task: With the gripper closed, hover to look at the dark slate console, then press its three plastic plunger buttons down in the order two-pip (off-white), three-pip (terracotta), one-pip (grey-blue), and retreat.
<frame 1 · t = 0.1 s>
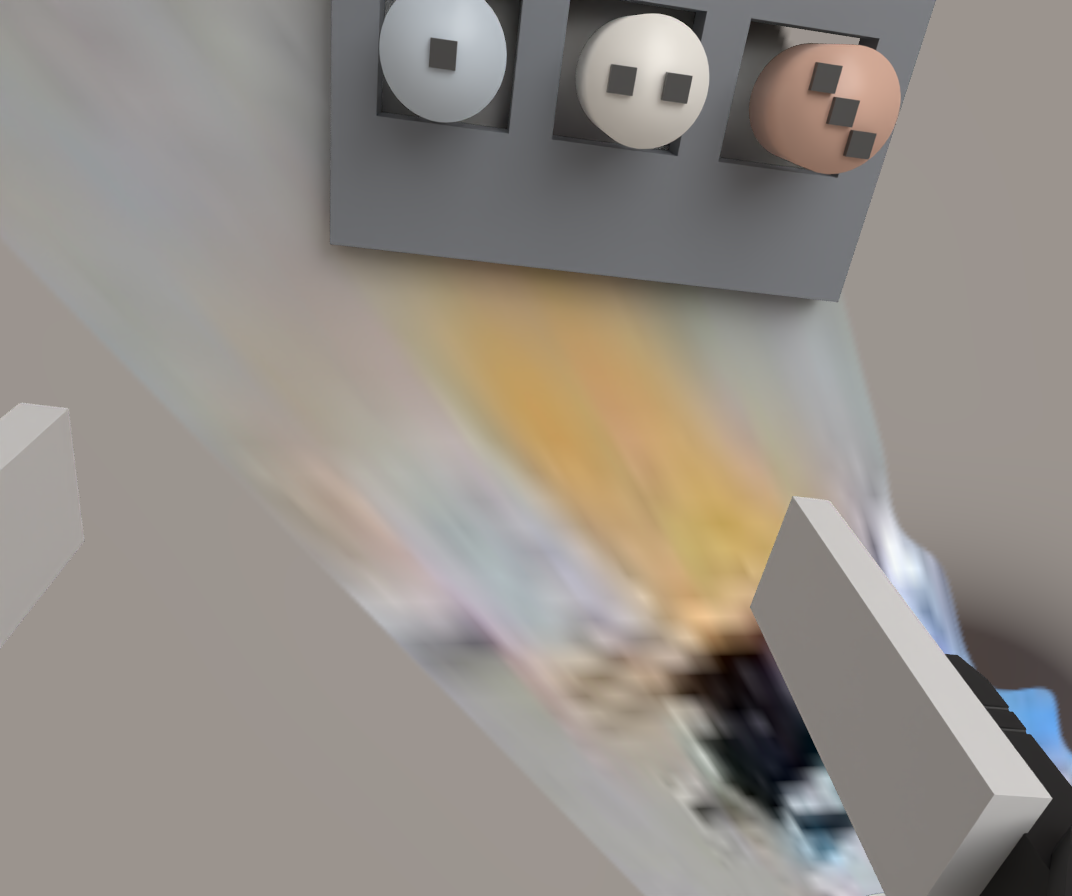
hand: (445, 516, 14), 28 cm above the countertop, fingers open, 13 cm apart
button one: (445, 52, 31), point 5 cm above the countertop, slide at 0.0 cm
button two: (639, 80, 32), point 5 cm above the countertop, slide at 0.0 cm
console: (620, 75, 36), on the countertop
button three: (821, 107, 33), point 5 cm above the countertop, slide at 0.0 cm
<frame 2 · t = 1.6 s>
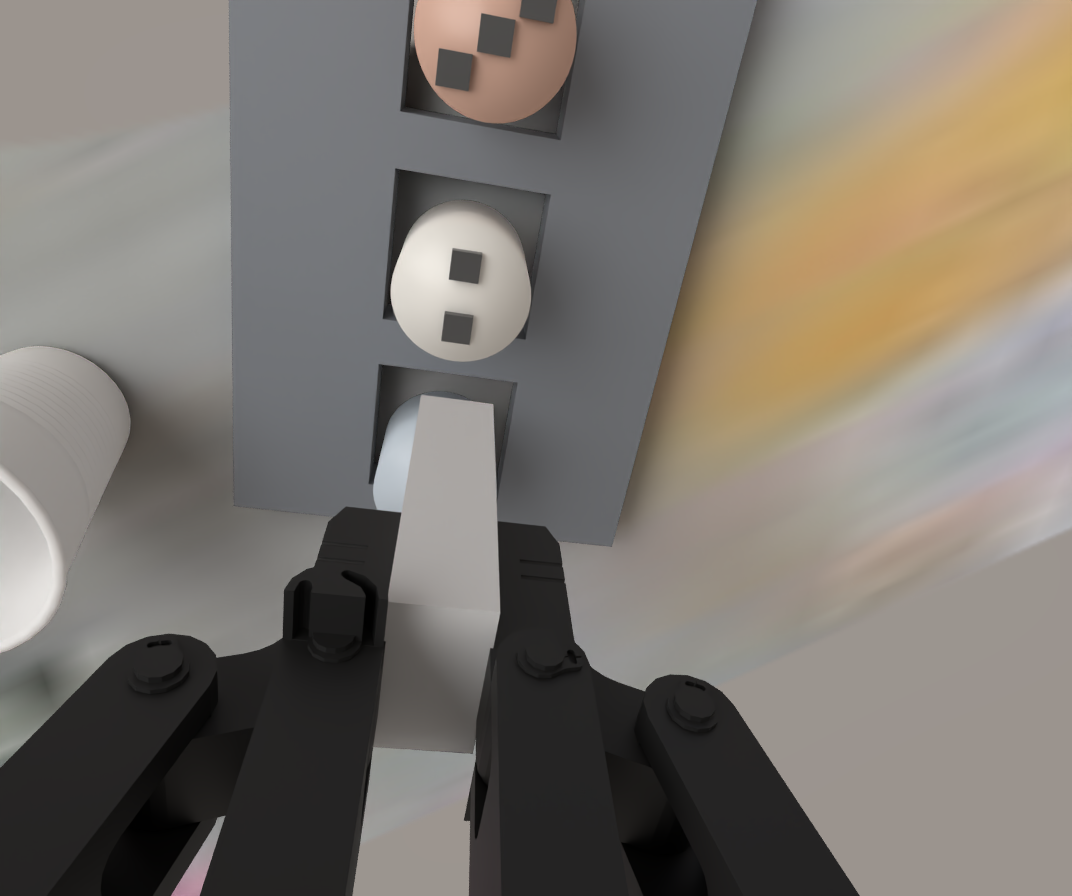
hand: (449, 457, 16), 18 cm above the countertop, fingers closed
button one: (437, 467, 32), point 5 cm above the countertop, slide at 0.0 cm
button two: (462, 279, 28), point 5 cm above the countertop, slide at 0.0 cm
console: (465, 246, 33), on the countertop
button three: (494, 35, 25), point 5 cm above the countertop, slide at 0.0 cm
cup: (64, 404, 35), on the countertop
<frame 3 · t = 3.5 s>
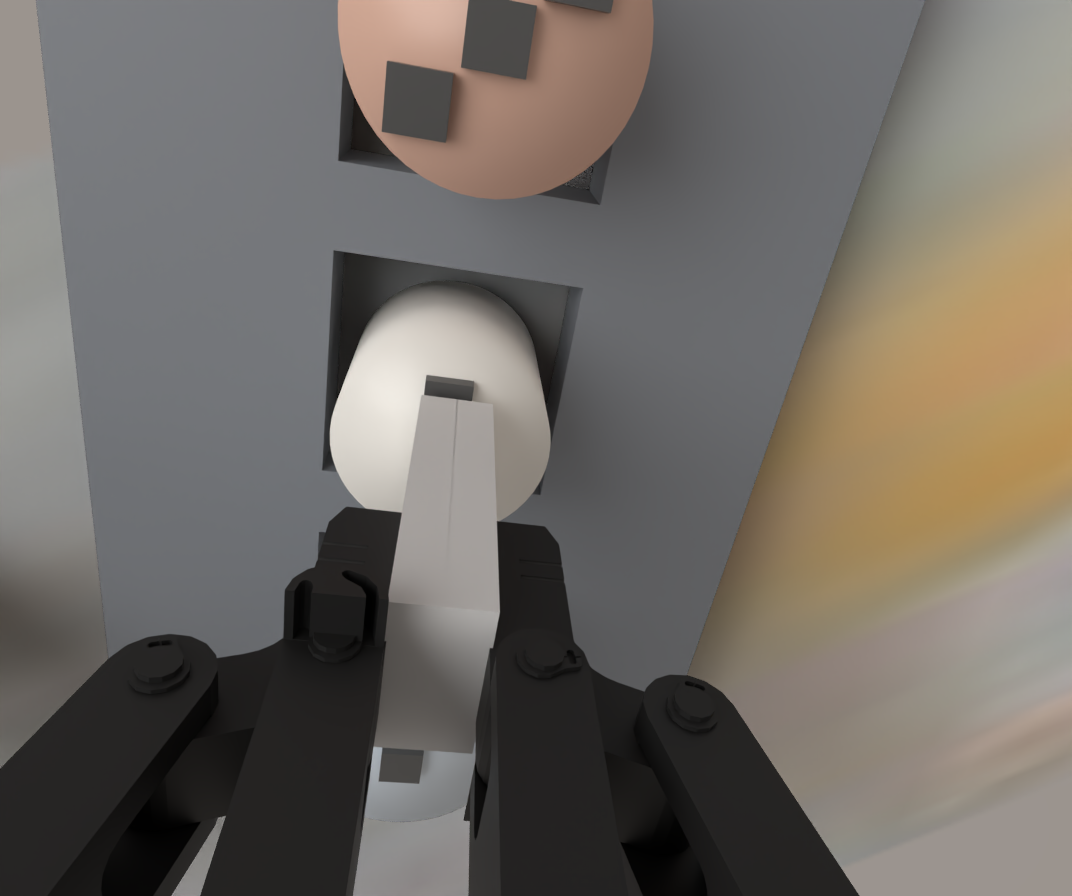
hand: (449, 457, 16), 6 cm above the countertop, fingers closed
button one: (408, 696, 21), point 5 cm above the countertop, slide at 0.0 cm
button two: (444, 405, 19), point 3 cm above the countertop, slide at 1.7 cm, touching gripper
console: (448, 355, 22), on the countertop
button three: (494, 36, 14), point 5 cm above the countertop, slide at 0.0 cm
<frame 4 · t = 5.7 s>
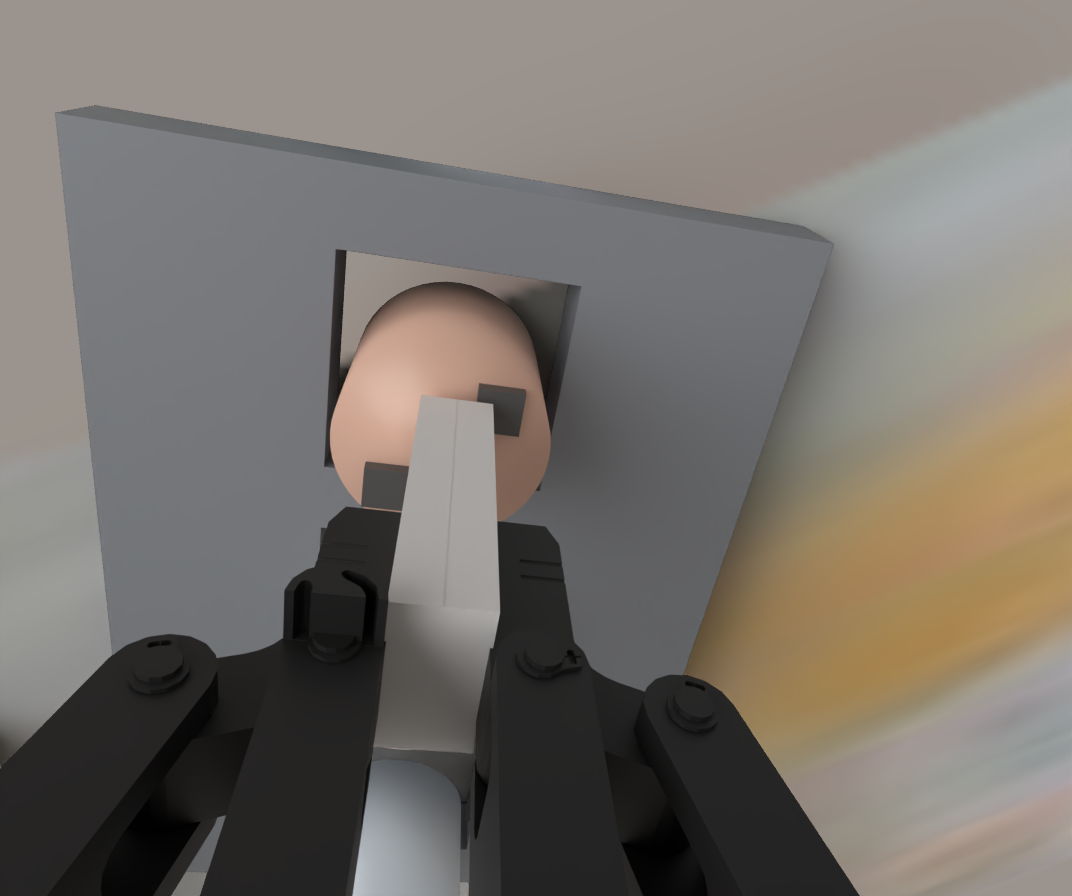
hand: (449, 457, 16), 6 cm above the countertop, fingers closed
button one: (385, 871, 25), point 5 cm above the countertop, slide at 0.0 cm
button two: (414, 637, 23), point 3 cm above the countertop, slide at 2.1 cm
console: (420, 577, 25), on the countertop
button three: (444, 406, 19), point 4 cm above the countertop, slide at 1.4 cm, touching gripper
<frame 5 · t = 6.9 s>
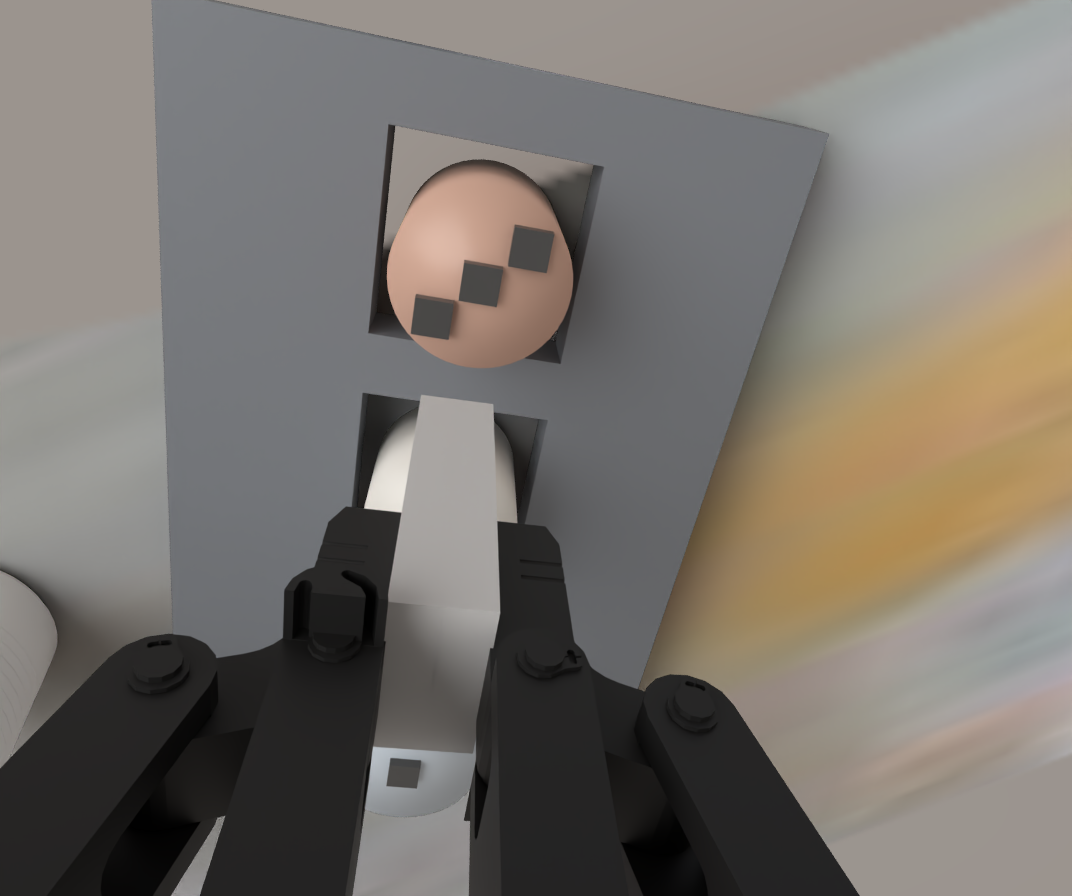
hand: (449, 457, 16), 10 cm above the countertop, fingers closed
button one: (409, 720, 27), point 5 cm above the countertop, slide at 0.0 cm
button two: (442, 499, 25), point 3 cm above the countertop, slide at 2.1 cm
console: (446, 457, 28), on the countertop
button three: (481, 261, 22), point 3 cm above the countertop, slide at 2.1 cm
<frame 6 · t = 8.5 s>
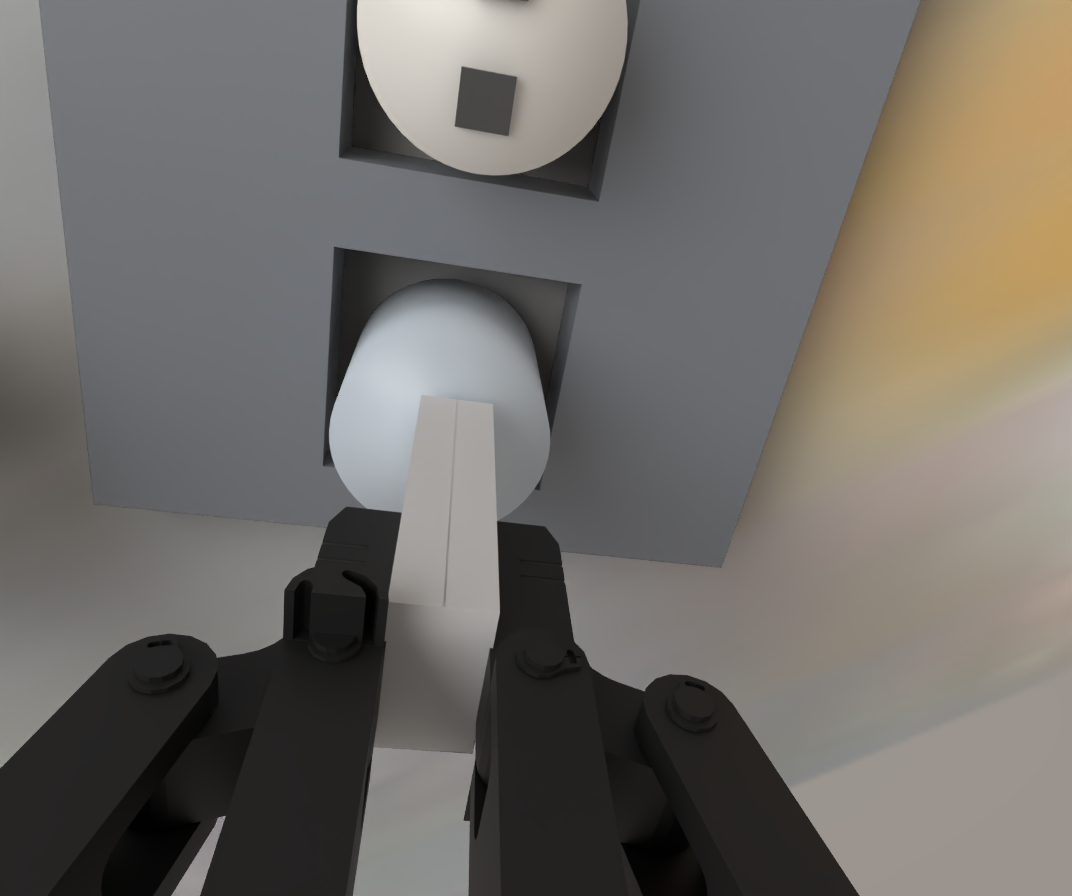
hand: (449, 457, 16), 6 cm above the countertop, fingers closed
button one: (444, 403, 19), point 3 cm above the countertop, slide at 1.5 cm, touching gripper
button two: (491, 34, 15), point 3 cm above the countertop, slide at 2.1 cm
console: (489, 33, 18), on the countertop
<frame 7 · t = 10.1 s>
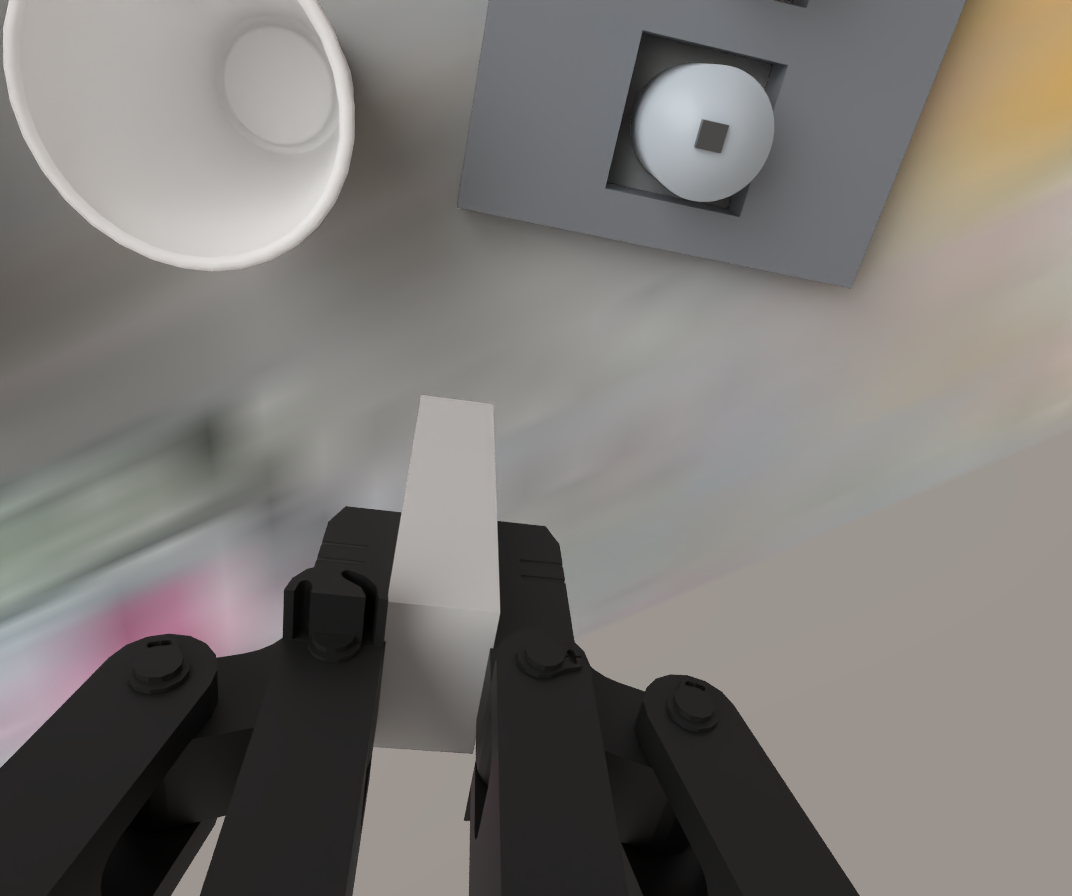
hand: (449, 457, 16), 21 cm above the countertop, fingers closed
button one: (698, 130, 31), point 3 cm above the countertop, slide at 2.1 cm
cup: (282, 86, 32), on the countertop
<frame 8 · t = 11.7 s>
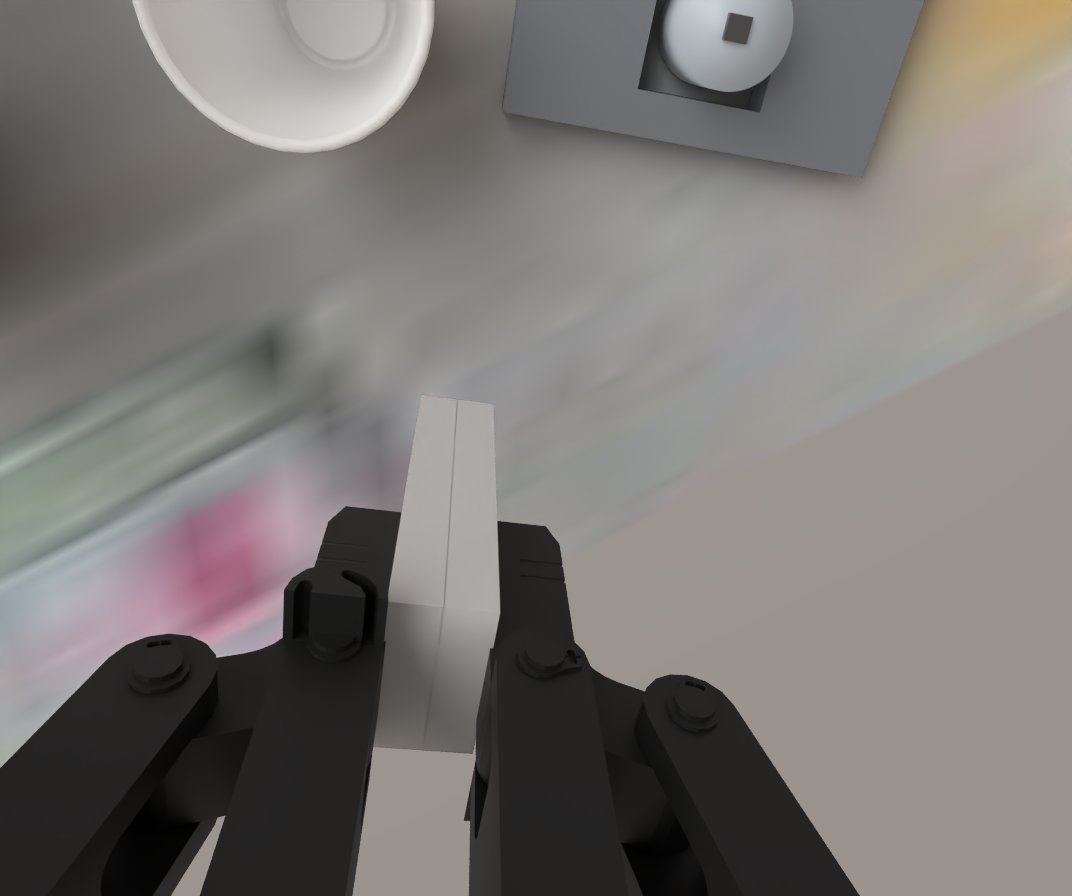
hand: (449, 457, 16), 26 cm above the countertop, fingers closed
button one: (722, 28, 34), point 3 cm above the countertop, slide at 2.1 cm
cup: (338, 5, 35), on the countertop
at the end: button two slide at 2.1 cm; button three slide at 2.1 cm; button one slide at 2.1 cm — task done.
